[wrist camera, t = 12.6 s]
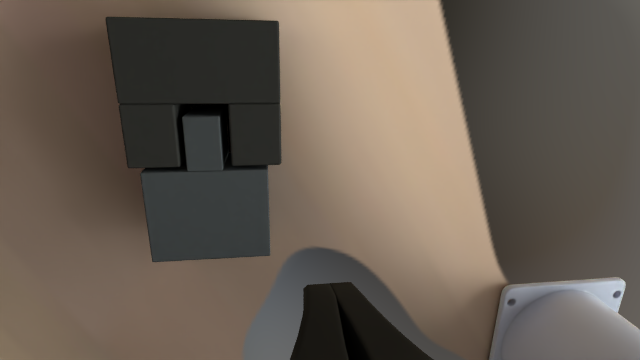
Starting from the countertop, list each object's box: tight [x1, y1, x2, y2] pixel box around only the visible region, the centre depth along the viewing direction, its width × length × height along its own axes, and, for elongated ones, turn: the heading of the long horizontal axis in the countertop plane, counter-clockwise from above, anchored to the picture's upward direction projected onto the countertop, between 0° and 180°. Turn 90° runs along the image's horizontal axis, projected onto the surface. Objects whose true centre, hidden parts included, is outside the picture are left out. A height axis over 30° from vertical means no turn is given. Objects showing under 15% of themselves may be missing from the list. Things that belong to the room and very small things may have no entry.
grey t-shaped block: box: [140, 106, 270, 262], centre depth 17 cm, size 6×5×3 cm
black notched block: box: [106, 17, 281, 168], centre depth 16 cm, size 6×6×3 cm
